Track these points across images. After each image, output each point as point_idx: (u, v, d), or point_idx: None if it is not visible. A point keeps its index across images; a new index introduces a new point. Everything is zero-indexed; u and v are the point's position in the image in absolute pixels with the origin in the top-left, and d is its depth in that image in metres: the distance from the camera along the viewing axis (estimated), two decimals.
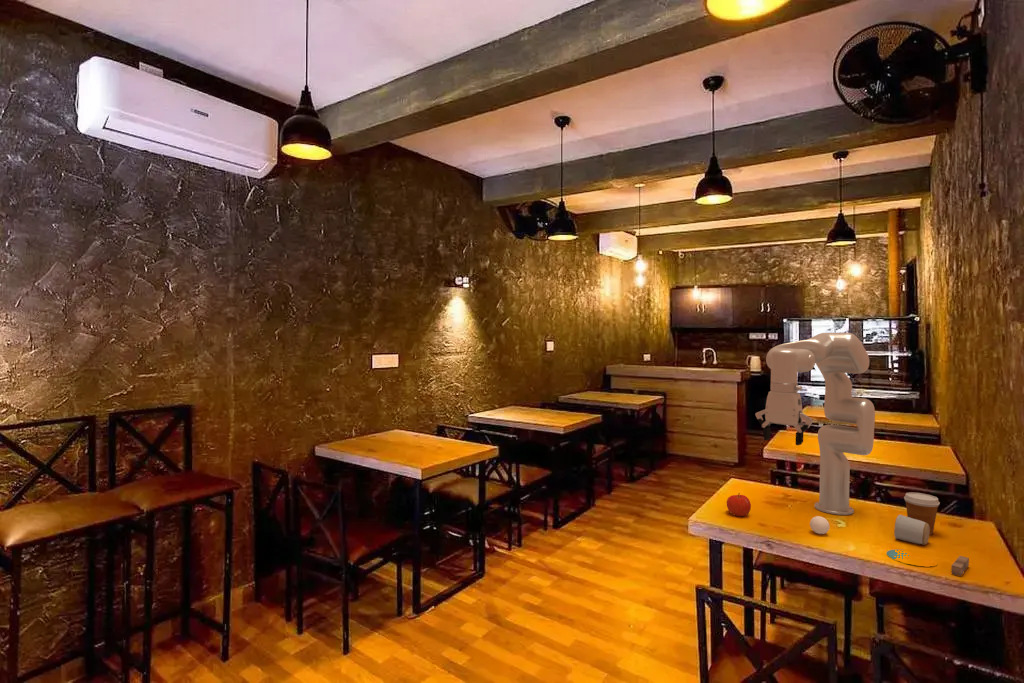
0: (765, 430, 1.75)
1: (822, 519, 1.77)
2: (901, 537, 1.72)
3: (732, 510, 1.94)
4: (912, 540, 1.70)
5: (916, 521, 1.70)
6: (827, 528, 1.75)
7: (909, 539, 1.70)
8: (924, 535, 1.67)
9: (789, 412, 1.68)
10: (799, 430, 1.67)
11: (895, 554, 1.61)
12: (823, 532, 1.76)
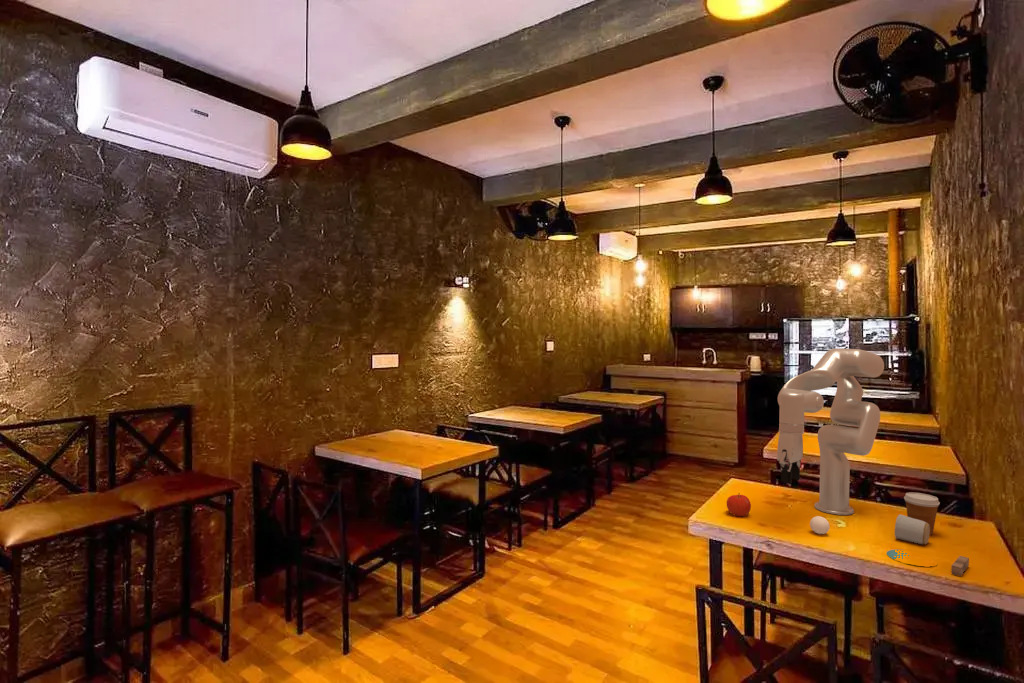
0: (791, 474, 1.82)
1: (822, 519, 1.77)
2: (901, 537, 1.72)
3: (732, 510, 1.94)
4: (912, 540, 1.70)
5: (916, 521, 1.70)
6: (827, 528, 1.75)
7: (909, 539, 1.70)
8: (924, 535, 1.67)
9: (801, 448, 1.85)
10: (799, 466, 1.86)
11: (895, 554, 1.61)
12: (823, 532, 1.76)
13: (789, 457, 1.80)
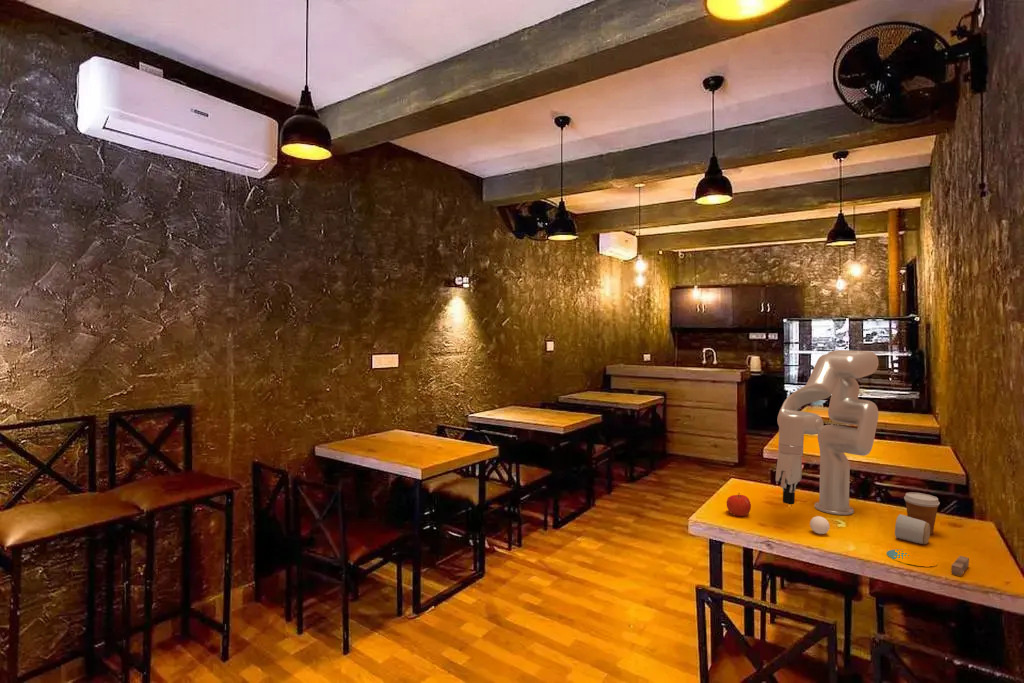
0: (793, 495, 1.83)
1: (822, 519, 1.77)
2: (902, 536, 1.72)
3: (732, 510, 1.94)
4: (913, 539, 1.70)
5: (917, 521, 1.71)
6: (827, 528, 1.75)
7: (910, 538, 1.70)
8: (924, 534, 1.67)
9: (800, 470, 1.85)
10: (794, 489, 1.84)
11: (895, 554, 1.61)
12: (823, 532, 1.76)
13: (788, 478, 1.80)
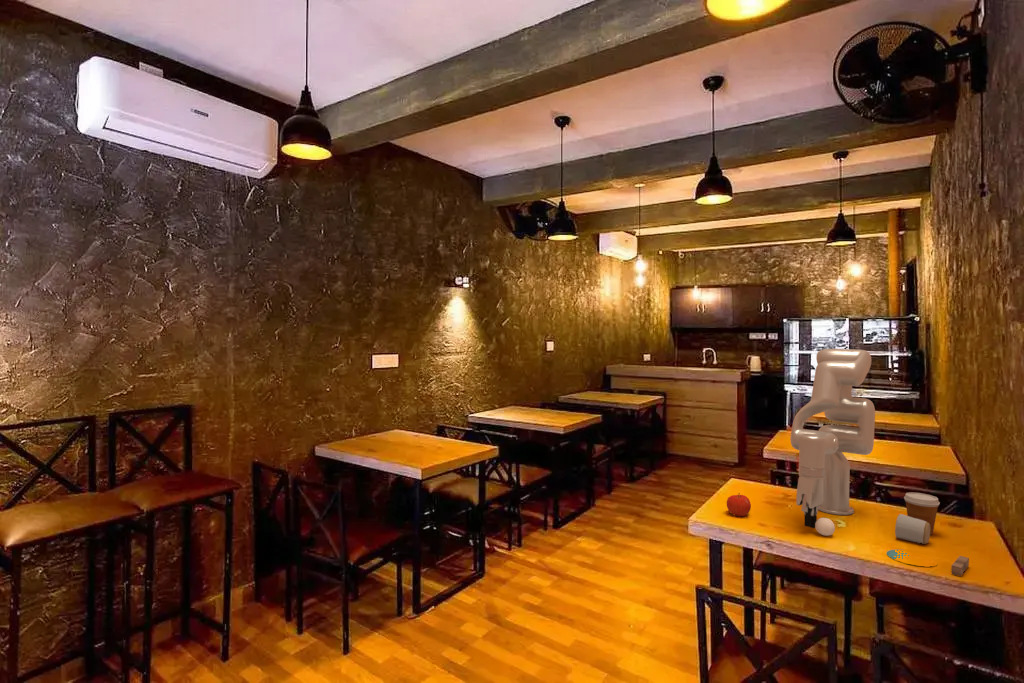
0: (815, 518, 1.78)
1: (830, 523, 1.75)
2: (902, 536, 1.72)
3: (732, 510, 1.94)
4: (913, 539, 1.70)
5: (917, 520, 1.71)
6: (832, 532, 1.74)
7: (910, 538, 1.71)
8: (925, 534, 1.68)
9: (822, 493, 1.80)
10: (816, 513, 1.80)
11: (895, 554, 1.61)
12: (826, 535, 1.75)
13: (809, 502, 1.76)
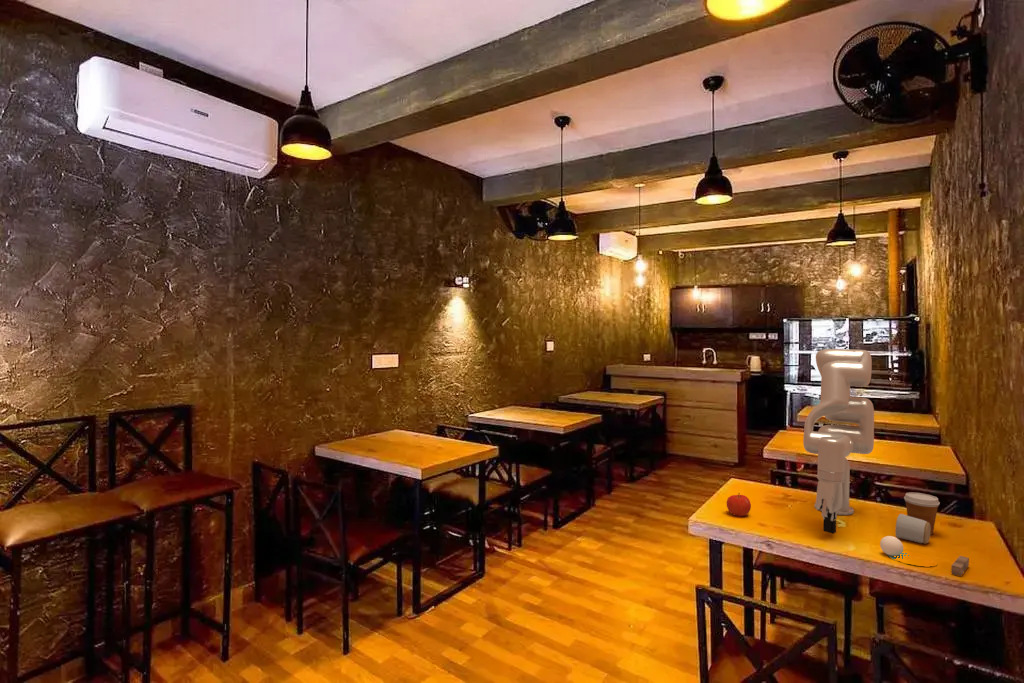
0: (834, 523, 1.74)
1: (900, 546, 1.59)
2: (902, 536, 1.72)
3: (732, 510, 1.94)
4: (913, 539, 1.70)
5: (917, 520, 1.71)
6: (897, 555, 1.59)
7: (910, 538, 1.71)
8: (925, 534, 1.68)
9: (841, 497, 1.76)
10: (835, 517, 1.75)
11: None
12: (890, 555, 1.60)
13: (829, 507, 1.71)
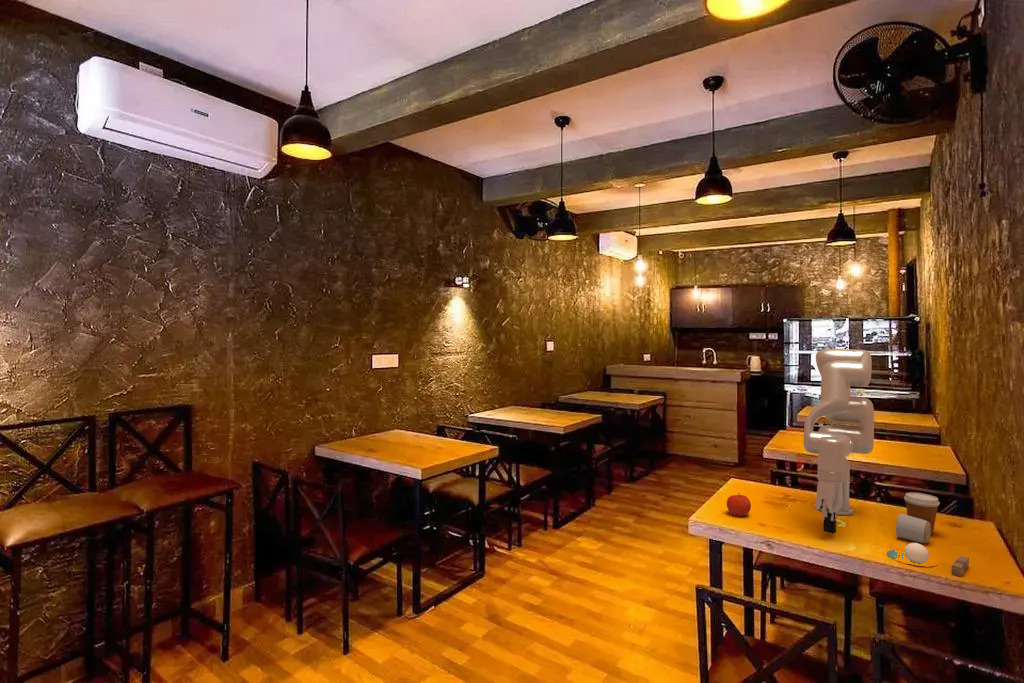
0: (834, 523, 1.74)
1: None
2: (902, 536, 1.73)
3: (732, 510, 1.94)
4: (913, 539, 1.71)
5: (917, 520, 1.71)
6: None
7: (910, 538, 1.71)
8: (925, 534, 1.68)
9: (841, 497, 1.76)
10: (835, 517, 1.75)
11: (895, 554, 1.61)
12: (906, 547, 1.57)
13: (829, 507, 1.71)
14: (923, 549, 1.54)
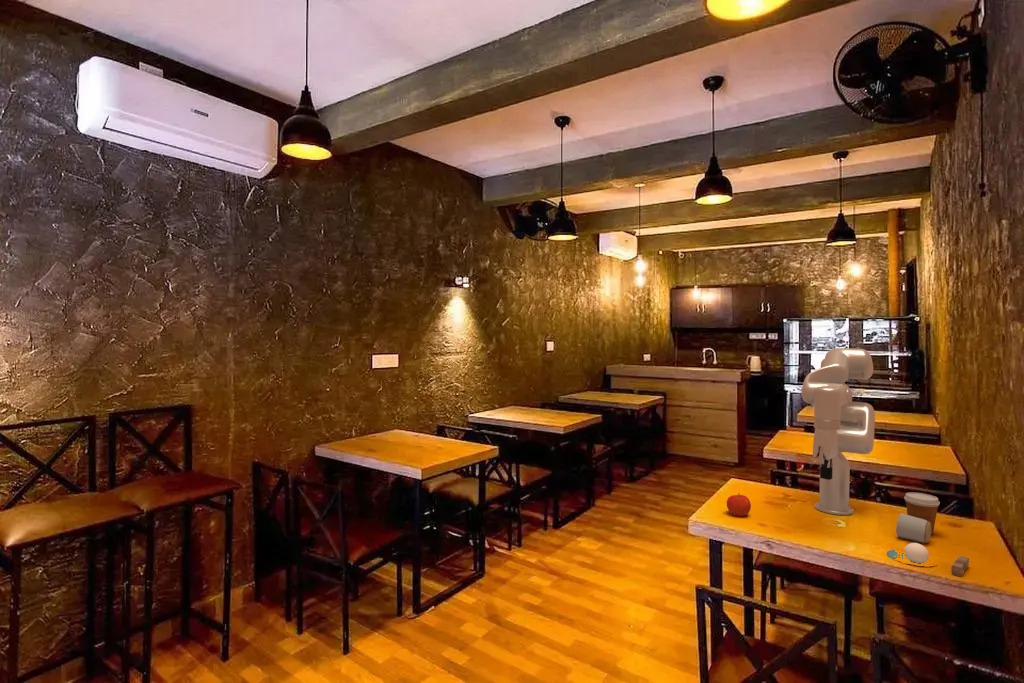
0: (831, 470, 1.78)
1: None
2: (903, 535, 1.73)
3: (732, 510, 1.94)
4: (914, 538, 1.71)
5: (918, 519, 1.72)
6: None
7: (911, 537, 1.71)
8: (926, 533, 1.68)
9: (837, 444, 1.79)
10: (831, 464, 1.79)
11: (895, 554, 1.61)
12: (906, 547, 1.57)
13: (826, 454, 1.75)
14: (923, 549, 1.54)
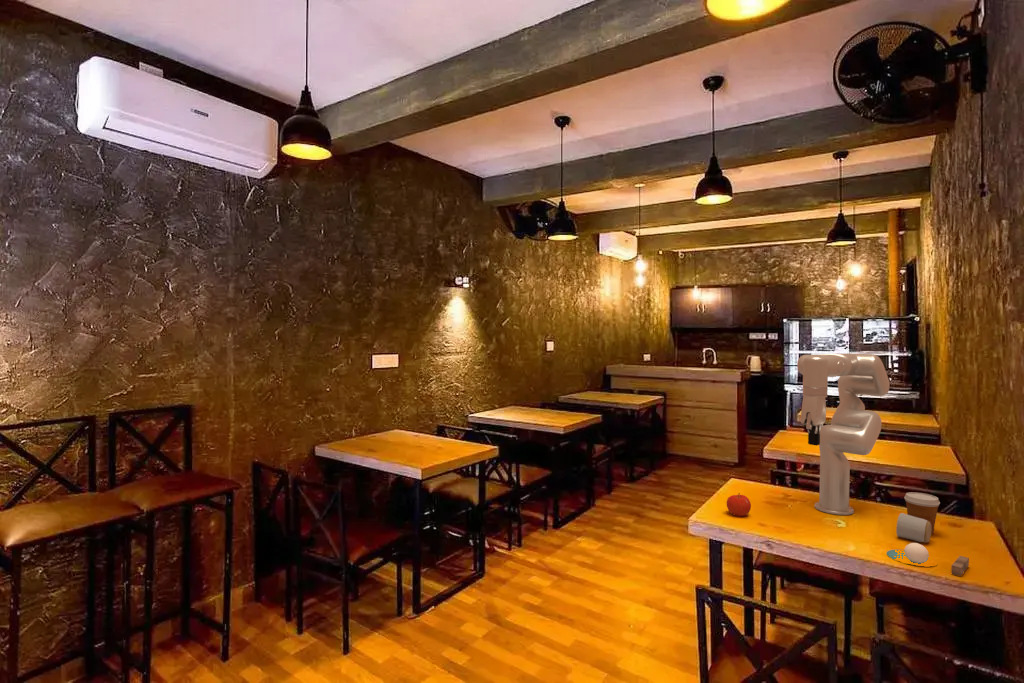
0: (818, 436, 1.87)
1: None
2: (903, 535, 1.73)
3: (732, 510, 1.94)
4: (914, 538, 1.71)
5: (918, 519, 1.72)
6: None
7: (911, 537, 1.72)
8: (926, 533, 1.69)
9: (824, 412, 1.88)
10: (819, 431, 1.88)
11: (895, 554, 1.61)
12: (906, 547, 1.57)
13: (813, 419, 1.84)
14: (923, 549, 1.54)
